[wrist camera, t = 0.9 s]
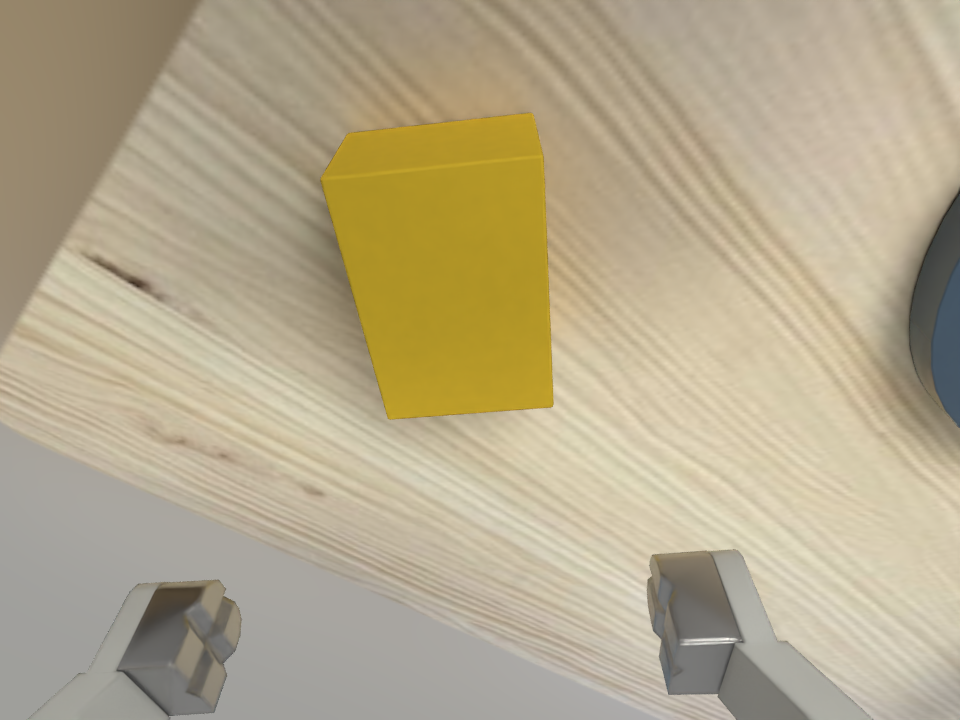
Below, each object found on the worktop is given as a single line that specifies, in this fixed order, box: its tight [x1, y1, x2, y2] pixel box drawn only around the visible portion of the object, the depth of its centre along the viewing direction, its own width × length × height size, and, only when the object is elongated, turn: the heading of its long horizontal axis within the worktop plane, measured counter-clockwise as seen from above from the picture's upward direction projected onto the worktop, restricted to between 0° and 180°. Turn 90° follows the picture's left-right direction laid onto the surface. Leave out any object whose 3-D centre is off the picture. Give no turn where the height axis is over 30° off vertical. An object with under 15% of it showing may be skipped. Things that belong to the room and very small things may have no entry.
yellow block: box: [320, 113, 553, 420], centre depth 20 cm, size 9×6×4 cm, turn 6°
